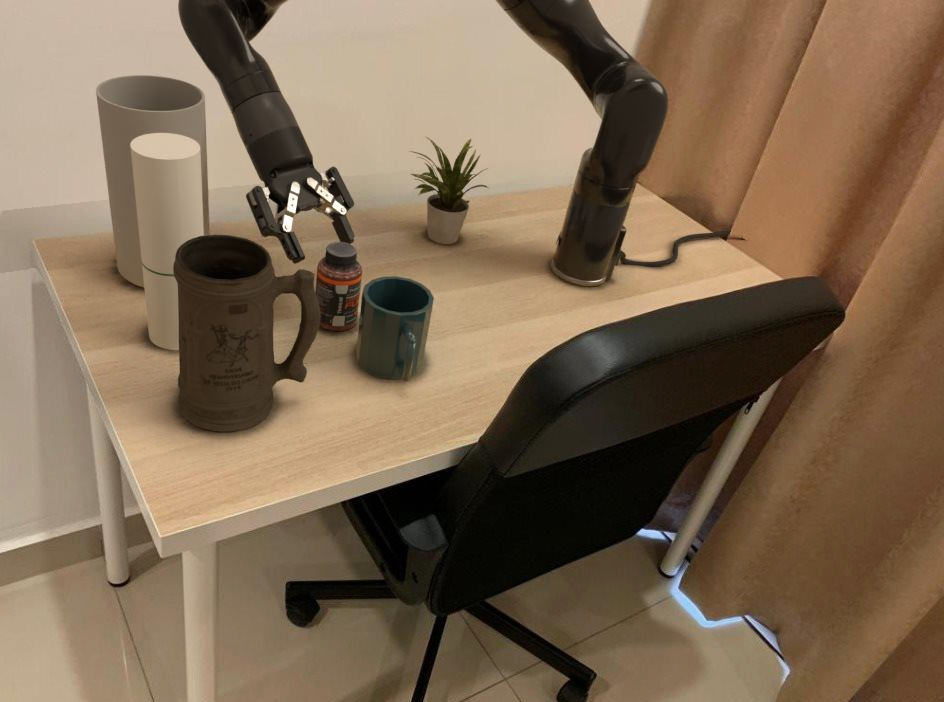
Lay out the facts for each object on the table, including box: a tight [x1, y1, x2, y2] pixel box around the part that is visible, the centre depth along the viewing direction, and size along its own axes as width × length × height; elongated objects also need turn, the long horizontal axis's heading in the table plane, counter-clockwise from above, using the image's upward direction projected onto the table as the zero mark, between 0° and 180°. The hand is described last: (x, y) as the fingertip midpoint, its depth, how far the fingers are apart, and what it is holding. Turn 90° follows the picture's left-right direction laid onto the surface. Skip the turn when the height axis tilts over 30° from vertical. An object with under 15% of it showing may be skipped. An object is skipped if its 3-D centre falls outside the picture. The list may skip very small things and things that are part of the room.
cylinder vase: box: [95, 74, 211, 288], centre depth 102 cm, size 12×12×25 cm
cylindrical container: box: [130, 133, 204, 351], centre depth 91 cm, size 7×7×25 cm
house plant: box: [409, 136, 489, 245], centre depth 127 cm, size 14×14×16 cm
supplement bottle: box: [315, 241, 363, 332], centre depth 103 cm, size 6×6×11 cm
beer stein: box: [173, 234, 321, 432], centre depth 85 cm, size 15×11×20 cm
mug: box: [355, 275, 435, 382], centre depth 97 cm, size 12×9×10 cm
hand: (325, 252), depth 102 cm, fingers open, 8 cm apart
